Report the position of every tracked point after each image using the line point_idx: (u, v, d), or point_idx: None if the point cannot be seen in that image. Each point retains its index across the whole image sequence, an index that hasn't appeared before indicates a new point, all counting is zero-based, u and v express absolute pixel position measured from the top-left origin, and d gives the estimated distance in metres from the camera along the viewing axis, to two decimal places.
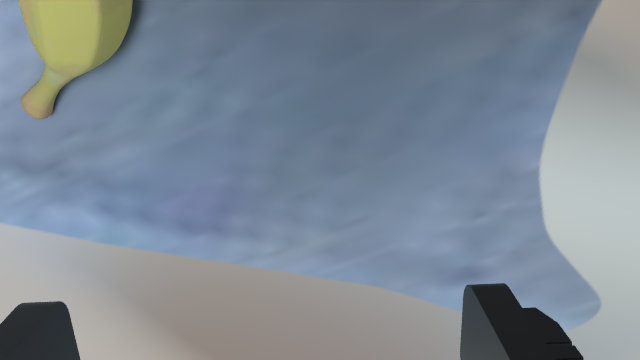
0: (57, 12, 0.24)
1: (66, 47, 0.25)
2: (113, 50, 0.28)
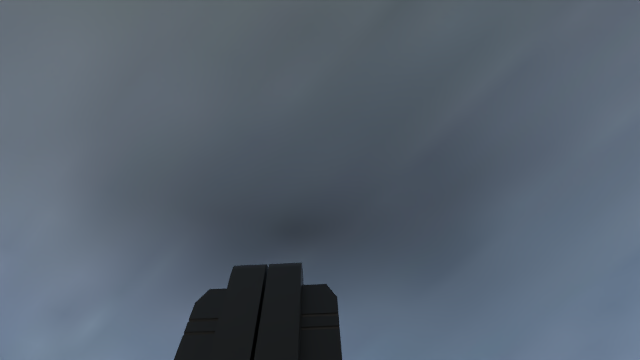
0: None
1: None
2: None
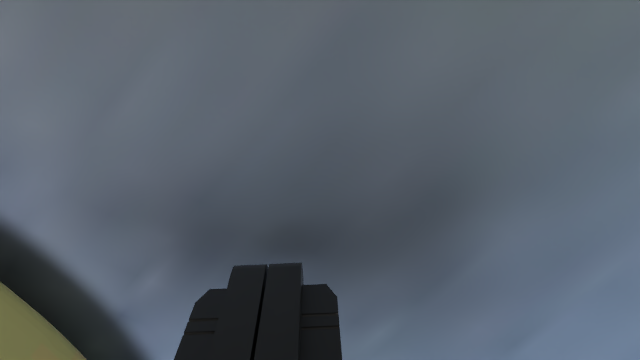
0: None
1: None
2: None
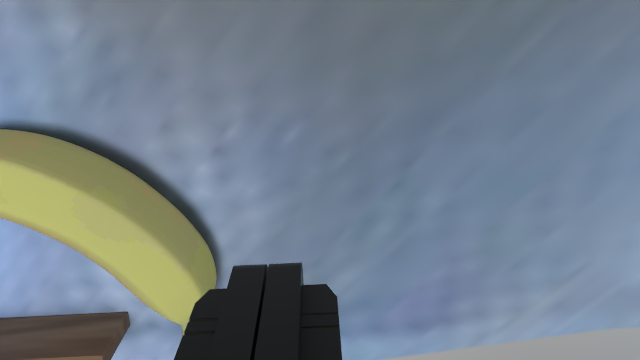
0: (160, 290, 0.29)
1: (181, 307, 0.30)
2: (214, 281, 0.32)
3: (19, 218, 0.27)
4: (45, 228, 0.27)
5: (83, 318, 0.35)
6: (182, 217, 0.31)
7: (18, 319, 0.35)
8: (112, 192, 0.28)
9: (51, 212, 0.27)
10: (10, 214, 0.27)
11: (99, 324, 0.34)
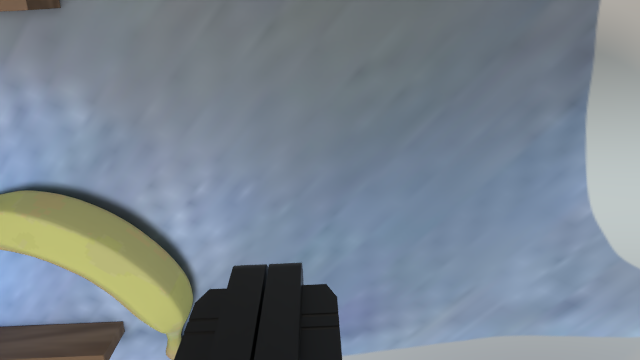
0: (149, 310, 0.40)
1: (165, 321, 0.41)
2: (190, 300, 0.43)
3: (47, 259, 0.38)
4: (66, 266, 0.38)
5: (89, 326, 0.45)
6: (166, 254, 0.42)
7: (39, 326, 0.46)
8: (114, 239, 0.39)
9: (70, 255, 0.38)
10: (41, 256, 0.38)
11: (101, 331, 0.45)
